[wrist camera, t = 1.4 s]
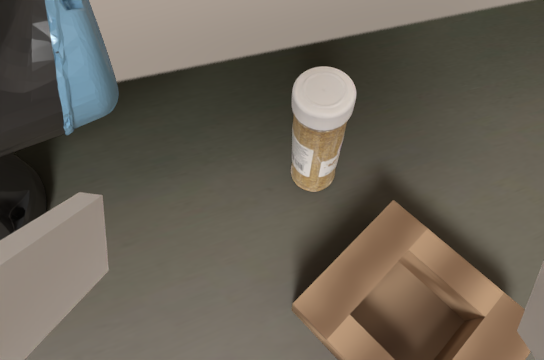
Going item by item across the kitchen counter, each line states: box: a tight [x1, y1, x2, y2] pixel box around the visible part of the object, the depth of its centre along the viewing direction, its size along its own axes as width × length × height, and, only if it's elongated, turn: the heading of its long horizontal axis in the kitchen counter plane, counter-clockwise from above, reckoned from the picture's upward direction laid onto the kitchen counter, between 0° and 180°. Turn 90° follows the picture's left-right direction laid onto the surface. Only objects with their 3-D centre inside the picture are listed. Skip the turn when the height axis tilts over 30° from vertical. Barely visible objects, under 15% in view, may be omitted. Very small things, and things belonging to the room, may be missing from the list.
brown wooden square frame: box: [292, 200, 531, 360], centre depth 30 cm, size 14×12×5 cm
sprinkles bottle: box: [291, 66, 356, 192], centre depth 33 cm, size 5×5×14 cm
